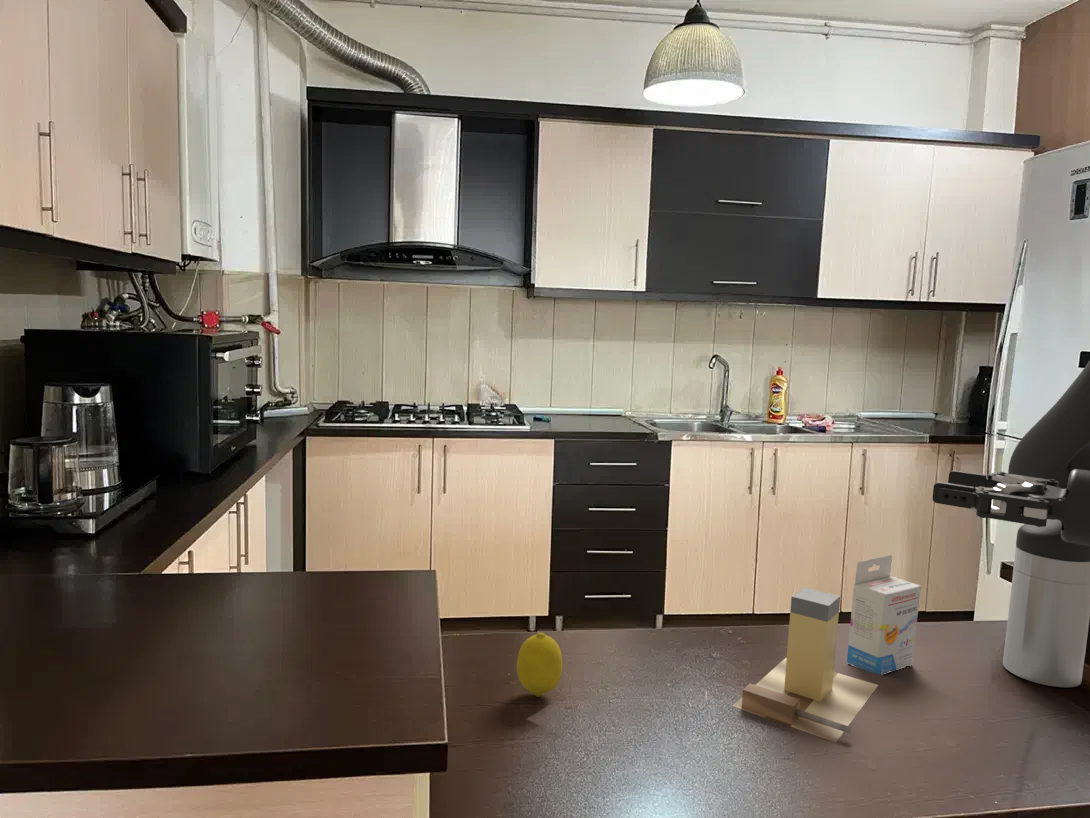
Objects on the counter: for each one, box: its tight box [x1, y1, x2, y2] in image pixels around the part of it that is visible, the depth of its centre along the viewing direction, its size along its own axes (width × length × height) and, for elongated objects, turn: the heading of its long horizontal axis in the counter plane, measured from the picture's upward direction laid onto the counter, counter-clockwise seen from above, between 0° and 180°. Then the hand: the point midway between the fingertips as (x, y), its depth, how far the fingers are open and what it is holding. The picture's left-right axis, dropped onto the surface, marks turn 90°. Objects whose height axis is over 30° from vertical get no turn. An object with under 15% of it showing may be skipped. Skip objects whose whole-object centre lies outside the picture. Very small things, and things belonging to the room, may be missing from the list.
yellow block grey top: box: [784, 587, 841, 702], centre depth 95 cm, size 4×4×12 cm
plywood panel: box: [731, 657, 879, 743], centre depth 94 cm, size 18×12×1 cm, turn 143°
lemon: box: [516, 632, 563, 698], centre depth 93 cm, size 6×6×8 cm
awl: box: [741, 682, 852, 734], centre depth 88 cm, size 2×12×2 cm, turn 53°
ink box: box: [846, 554, 922, 676], centre depth 106 cm, size 8×5×15 cm, turn 123°
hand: (941, 485), depth 85 cm, fingers open, 8 cm apart
